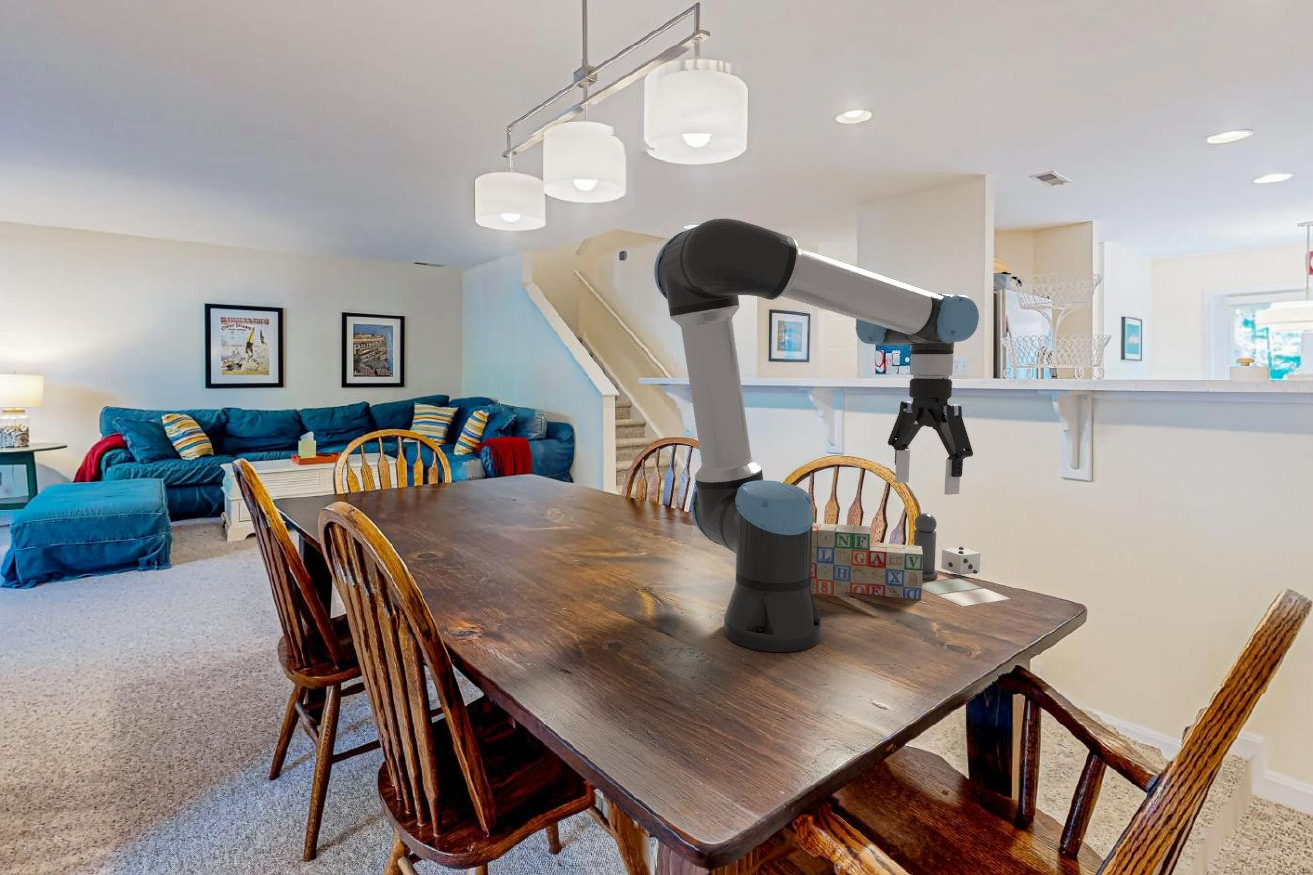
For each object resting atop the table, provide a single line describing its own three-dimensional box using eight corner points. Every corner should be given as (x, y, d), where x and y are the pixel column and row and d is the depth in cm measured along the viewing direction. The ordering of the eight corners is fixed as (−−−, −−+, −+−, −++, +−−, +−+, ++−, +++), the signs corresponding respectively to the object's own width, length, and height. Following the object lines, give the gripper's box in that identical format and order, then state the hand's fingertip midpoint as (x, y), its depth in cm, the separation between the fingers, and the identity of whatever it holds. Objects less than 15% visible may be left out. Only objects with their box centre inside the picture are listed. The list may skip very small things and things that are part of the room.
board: (961, 612, 120) (961, 606, 119) (865, 570, 144) (866, 565, 144) (1014, 604, 124) (1014, 598, 124) (913, 564, 148) (913, 560, 148)
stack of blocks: (920, 595, 129) (923, 529, 128) (921, 606, 123) (924, 537, 122) (803, 583, 136) (804, 521, 135) (798, 593, 130) (800, 528, 129)
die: (959, 581, 137) (960, 553, 136) (939, 573, 142) (940, 547, 142) (981, 578, 139) (982, 551, 138) (960, 570, 144) (961, 544, 144)
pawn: (921, 581, 133) (924, 517, 132) (903, 574, 138) (905, 511, 137) (943, 578, 135) (946, 515, 134) (924, 571, 140) (927, 509, 139)
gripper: (999, 378, 122) (992, 498, 124) (902, 376, 145) (898, 477, 148) (965, 378, 120) (958, 500, 122) (872, 376, 143) (868, 478, 145)
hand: (925, 488), depth 135 cm, fingers open, 13 cm apart
